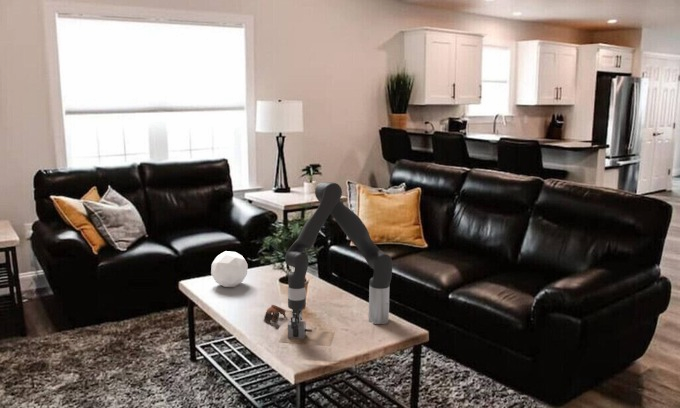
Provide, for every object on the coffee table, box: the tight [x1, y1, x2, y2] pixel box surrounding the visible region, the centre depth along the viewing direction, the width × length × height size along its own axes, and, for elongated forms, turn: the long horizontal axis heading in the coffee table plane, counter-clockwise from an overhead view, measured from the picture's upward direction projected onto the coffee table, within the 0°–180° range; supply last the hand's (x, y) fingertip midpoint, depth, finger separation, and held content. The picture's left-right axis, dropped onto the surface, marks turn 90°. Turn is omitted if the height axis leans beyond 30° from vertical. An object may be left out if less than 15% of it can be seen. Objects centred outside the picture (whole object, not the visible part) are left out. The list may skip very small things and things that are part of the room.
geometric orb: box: [210, 250, 249, 288], centre depth 311 cm, size 19×20×20 cm
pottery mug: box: [263, 304, 287, 324], centre depth 266 cm, size 12×10×8 cm
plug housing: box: [287, 320, 313, 339], centre depth 247 cm, size 10×4×6 cm, turn 83°
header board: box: [278, 328, 335, 347], centre depth 247 cm, size 22×14×5 cm, turn 83°
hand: (296, 334), depth 247 cm, fingers closed on plug housing, 4 cm apart
